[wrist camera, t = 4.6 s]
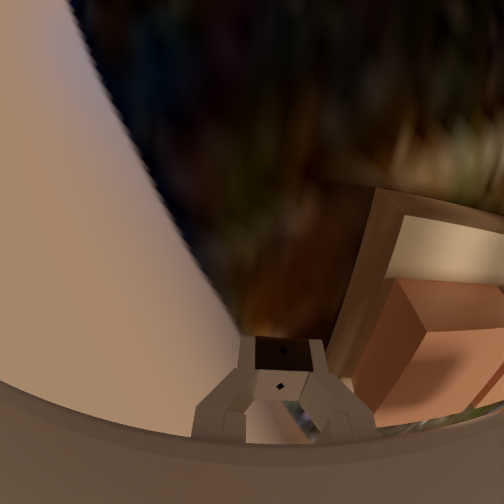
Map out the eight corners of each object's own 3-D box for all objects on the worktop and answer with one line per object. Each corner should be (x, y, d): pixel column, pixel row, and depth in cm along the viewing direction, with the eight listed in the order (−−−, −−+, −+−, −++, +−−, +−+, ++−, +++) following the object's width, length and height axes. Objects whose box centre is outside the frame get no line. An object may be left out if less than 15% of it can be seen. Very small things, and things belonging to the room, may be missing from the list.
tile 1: (495, 284, 11) (528, 325, 8) (443, 371, 14) (461, 411, 11) (395, 277, 11) (427, 332, 8) (350, 378, 14) (362, 429, 11)
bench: (546, 229, 12) (574, 252, 10) (481, 354, 18) (497, 382, 15) (375, 187, 12) (404, 214, 9) (320, 364, 17) (327, 404, 15)
